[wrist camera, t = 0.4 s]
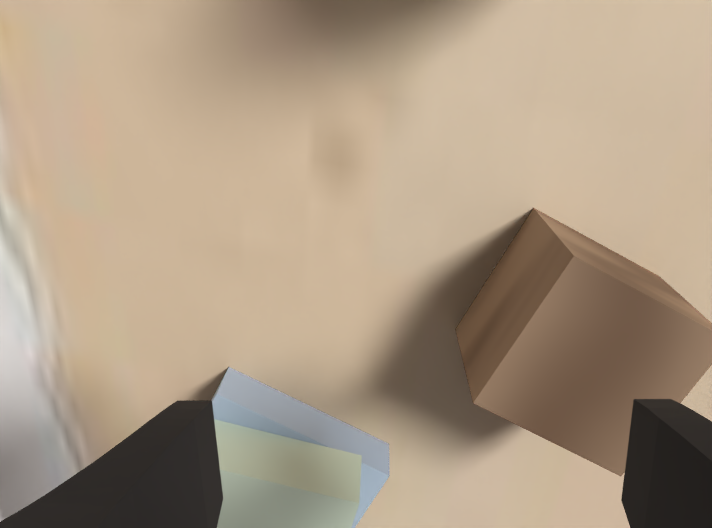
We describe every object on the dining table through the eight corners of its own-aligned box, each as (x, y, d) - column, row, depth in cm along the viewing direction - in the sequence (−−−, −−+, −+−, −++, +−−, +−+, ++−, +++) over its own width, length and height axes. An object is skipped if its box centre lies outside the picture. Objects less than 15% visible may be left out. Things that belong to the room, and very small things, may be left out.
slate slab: (388, 435, 23) (389, 475, 21) (311, 554, 25) (304, 602, 23) (232, 359, 22) (216, 393, 20) (164, 488, 24) (143, 531, 22)
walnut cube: (658, 275, 20) (731, 340, 16) (574, 389, 22) (620, 476, 17) (532, 207, 20) (574, 256, 15) (455, 328, 21) (472, 403, 17)
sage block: (361, 455, 21) (359, 503, 19) (323, 575, 22) (317, 631, 20) (204, 416, 20) (184, 461, 18) (177, 541, 22) (156, 594, 20)
